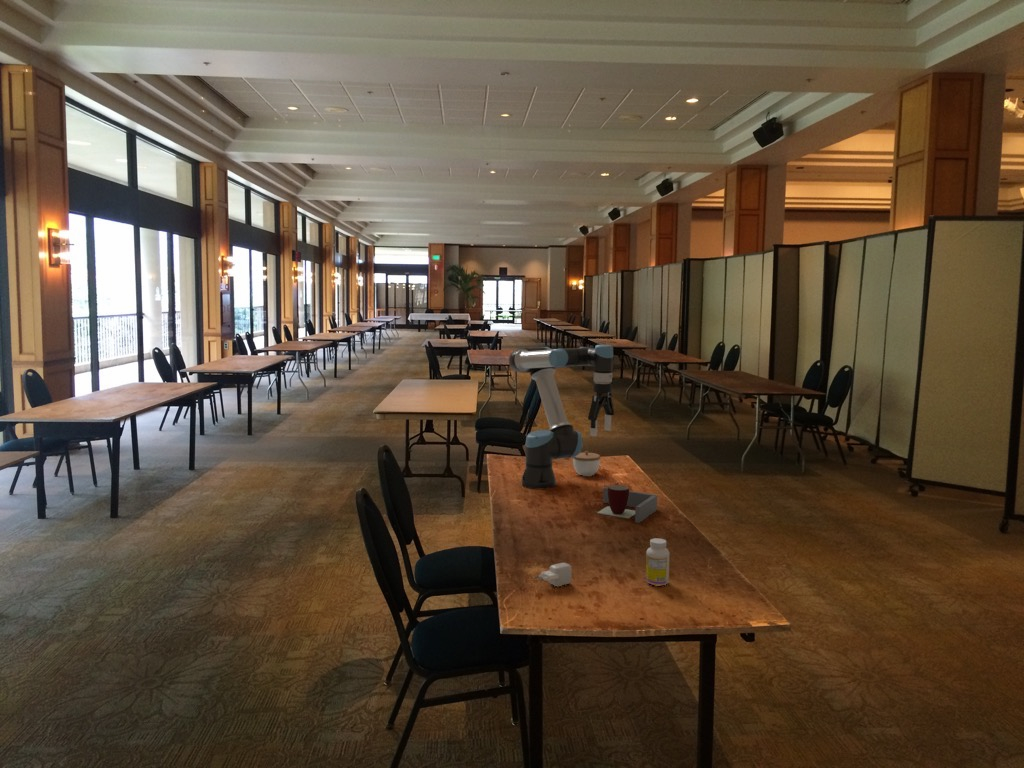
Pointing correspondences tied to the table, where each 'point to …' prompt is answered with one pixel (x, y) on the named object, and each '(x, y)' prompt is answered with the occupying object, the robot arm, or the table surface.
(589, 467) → the white lidded pot
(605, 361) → the robot arm
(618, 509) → the mug
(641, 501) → the corner arena
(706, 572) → the table surface
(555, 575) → the power adapter
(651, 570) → the supplement bottle
